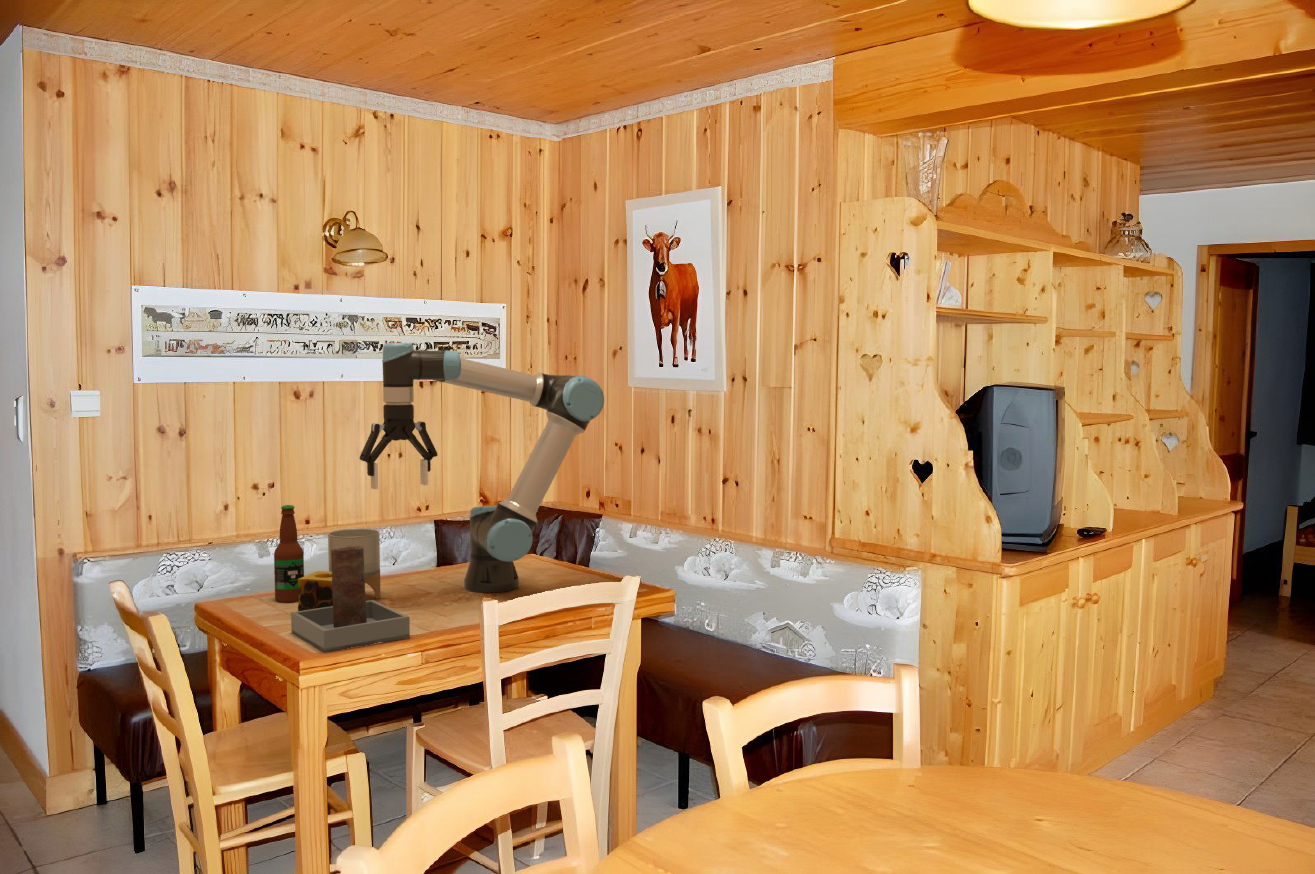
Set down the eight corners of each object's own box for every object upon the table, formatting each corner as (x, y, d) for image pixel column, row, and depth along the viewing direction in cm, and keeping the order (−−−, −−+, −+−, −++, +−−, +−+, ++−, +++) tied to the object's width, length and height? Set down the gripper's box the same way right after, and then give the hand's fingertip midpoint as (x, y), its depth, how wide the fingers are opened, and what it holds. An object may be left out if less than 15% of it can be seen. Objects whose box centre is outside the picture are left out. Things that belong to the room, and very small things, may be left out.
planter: (328, 595, 280) (327, 529, 279) (379, 592, 284) (377, 527, 283) (329, 606, 268) (328, 538, 267) (381, 603, 272) (380, 535, 271)
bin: (373, 620, 255) (373, 599, 255) (409, 638, 240) (409, 616, 239) (291, 633, 243) (290, 612, 242) (324, 653, 227) (323, 630, 227)
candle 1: (334, 621, 254) (334, 580, 253) (296, 618, 256) (296, 578, 255) (355, 611, 264) (354, 572, 263) (318, 608, 266) (317, 570, 265)
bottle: (276, 604, 270) (273, 508, 268) (274, 598, 276) (271, 504, 274) (306, 602, 273) (303, 506, 271) (303, 595, 279) (301, 503, 277)
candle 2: (335, 637, 236) (334, 549, 235) (329, 629, 243) (328, 544, 241) (370, 633, 240) (368, 547, 238) (363, 625, 246) (361, 541, 245)
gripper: (436, 401, 277) (437, 481, 279) (345, 404, 261) (346, 488, 263) (449, 403, 271) (450, 484, 273) (357, 405, 255) (358, 492, 257)
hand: (399, 486), depth 268 cm, fingers open, 13 cm apart
